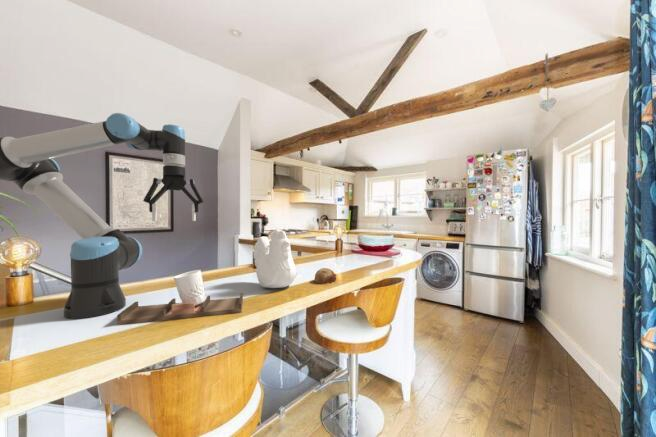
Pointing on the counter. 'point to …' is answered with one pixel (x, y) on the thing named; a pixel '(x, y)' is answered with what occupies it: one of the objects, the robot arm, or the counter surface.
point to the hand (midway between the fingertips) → (174, 221)
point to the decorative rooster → (274, 260)
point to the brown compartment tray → (179, 310)
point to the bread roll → (325, 276)
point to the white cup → (190, 287)
